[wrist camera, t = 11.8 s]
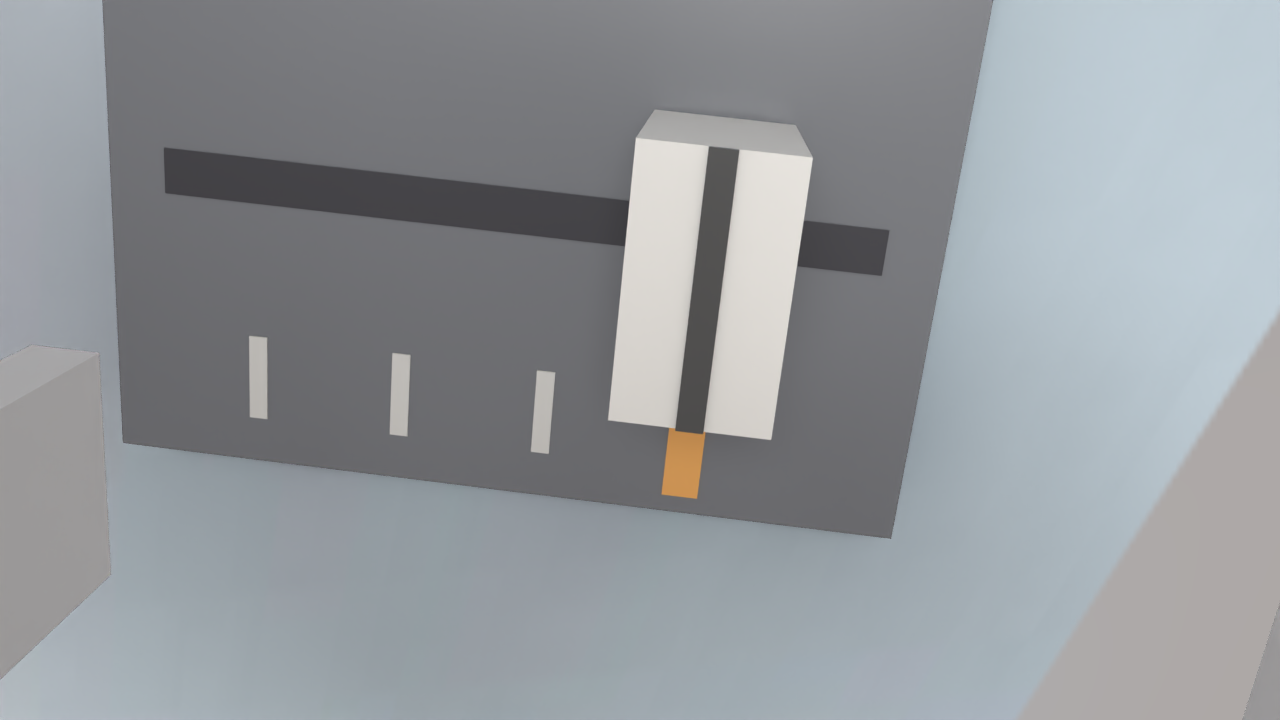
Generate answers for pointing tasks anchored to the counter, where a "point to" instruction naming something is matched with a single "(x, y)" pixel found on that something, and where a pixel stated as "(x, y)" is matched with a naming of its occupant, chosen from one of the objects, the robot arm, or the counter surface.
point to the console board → (517, 235)
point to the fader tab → (708, 273)
